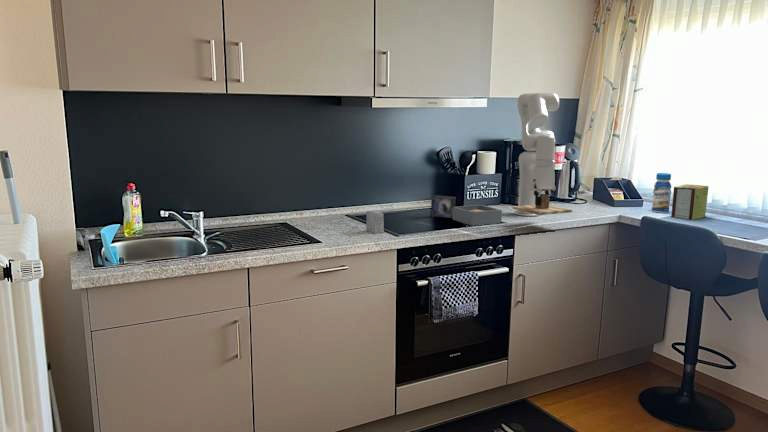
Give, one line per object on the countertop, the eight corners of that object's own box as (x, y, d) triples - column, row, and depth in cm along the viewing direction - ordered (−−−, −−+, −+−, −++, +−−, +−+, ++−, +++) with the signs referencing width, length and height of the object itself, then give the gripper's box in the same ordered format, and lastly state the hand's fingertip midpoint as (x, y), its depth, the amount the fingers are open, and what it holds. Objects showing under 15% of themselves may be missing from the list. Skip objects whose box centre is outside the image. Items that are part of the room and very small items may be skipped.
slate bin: (480, 218, 280) (480, 204, 278) (501, 224, 265) (501, 209, 264) (452, 221, 272) (452, 206, 271) (472, 227, 258) (472, 212, 257)
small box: (430, 218, 281) (430, 196, 279) (435, 215, 287) (435, 194, 285) (450, 220, 276) (451, 198, 275) (455, 217, 282) (456, 196, 280)
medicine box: (383, 233, 247) (384, 213, 245) (374, 234, 245) (374, 213, 243) (375, 229, 254) (375, 210, 252) (366, 230, 251) (366, 211, 250)
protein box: (705, 216, 289) (709, 186, 287) (692, 220, 280) (695, 188, 277) (684, 213, 297) (687, 183, 294) (670, 217, 288) (673, 186, 285)
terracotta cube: (475, 219, 272) (476, 209, 271) (484, 221, 269) (484, 210, 268) (468, 220, 269) (469, 210, 268) (477, 222, 265) (477, 211, 264)
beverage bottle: (671, 211, 303) (675, 173, 299) (665, 213, 297) (669, 174, 293) (654, 209, 308) (658, 172, 305) (648, 211, 303) (652, 173, 299)
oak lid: (543, 206, 268) (544, 191, 267) (572, 212, 252) (573, 196, 251) (512, 208, 260) (513, 193, 259) (540, 215, 244) (541, 198, 243)
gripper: (552, 162, 260) (550, 202, 263) (523, 163, 252) (521, 205, 255) (565, 163, 253) (562, 205, 256) (535, 164, 246) (533, 207, 249)
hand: (542, 204), depth 256 cm, fingers closed on oak lid, 4 cm apart
